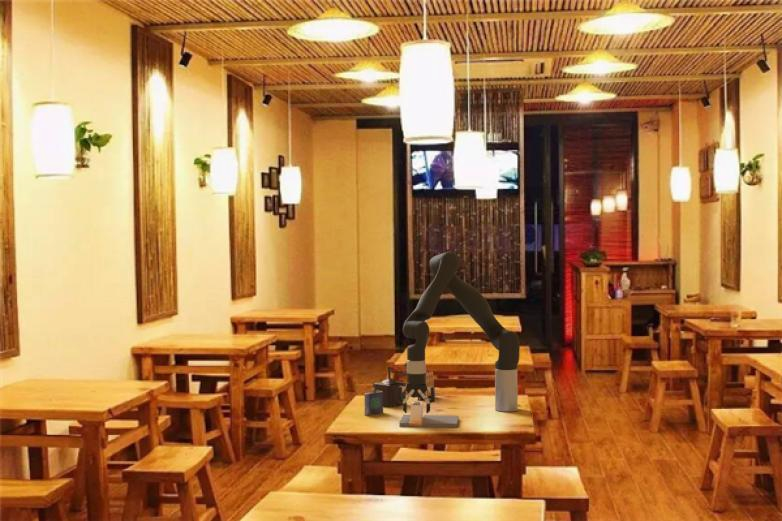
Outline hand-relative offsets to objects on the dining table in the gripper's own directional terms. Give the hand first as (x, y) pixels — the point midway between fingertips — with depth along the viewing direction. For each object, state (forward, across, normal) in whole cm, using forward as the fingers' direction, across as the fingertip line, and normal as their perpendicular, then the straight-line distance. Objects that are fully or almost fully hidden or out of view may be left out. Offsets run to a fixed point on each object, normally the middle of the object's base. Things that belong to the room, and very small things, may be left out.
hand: (416, 412), depth 365 cm
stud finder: (+2, 0, 0) cm, 2 cm away
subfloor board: (+4, -5, 0) cm, 6 cm away
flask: (+4, +19, -16) cm, 25 cm away
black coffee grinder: (+4, +13, -38) cm, 40 cm away
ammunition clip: (+4, 0, -50) cm, 50 cm away
